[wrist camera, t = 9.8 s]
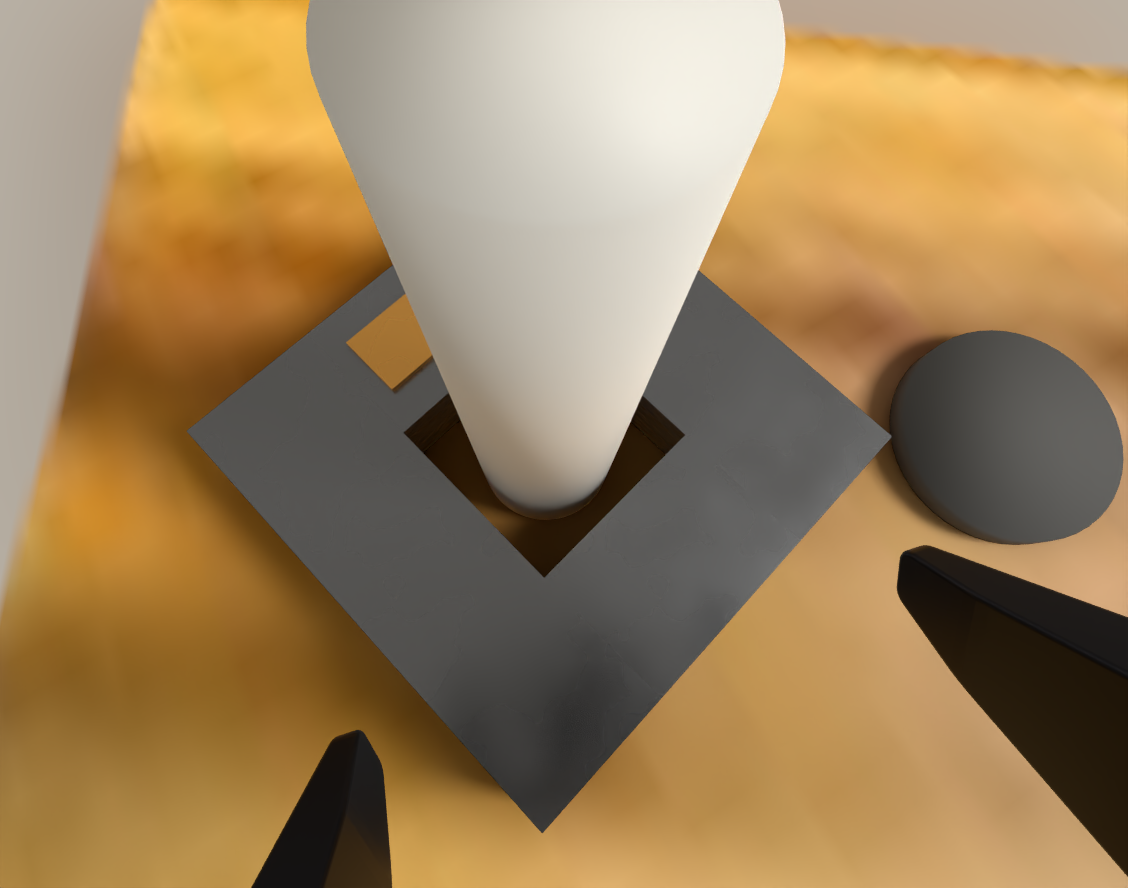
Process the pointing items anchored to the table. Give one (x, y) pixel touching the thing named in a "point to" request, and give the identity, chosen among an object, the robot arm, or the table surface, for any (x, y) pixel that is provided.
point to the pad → (1006, 438)
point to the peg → (546, 197)
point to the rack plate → (495, 567)
